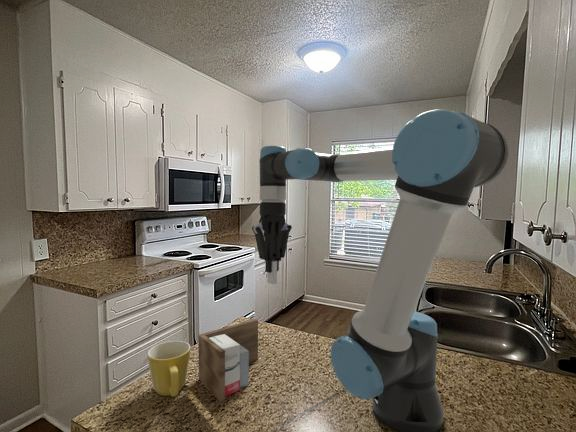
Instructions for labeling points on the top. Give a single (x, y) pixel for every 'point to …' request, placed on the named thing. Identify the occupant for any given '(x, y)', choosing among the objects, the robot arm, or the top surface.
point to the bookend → (244, 367)
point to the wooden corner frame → (215, 355)
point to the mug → (169, 366)
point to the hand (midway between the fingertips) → (272, 282)
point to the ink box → (230, 362)
